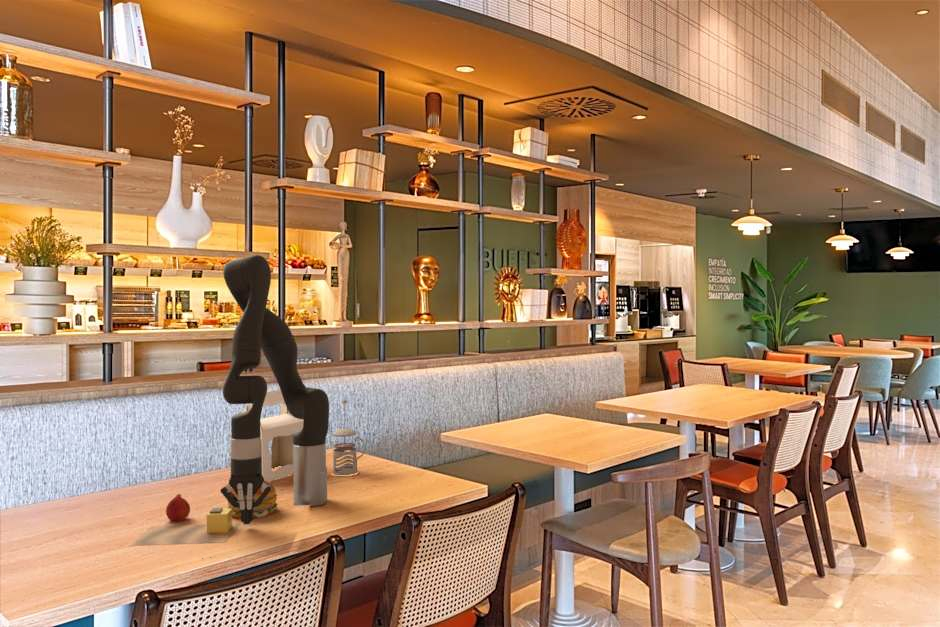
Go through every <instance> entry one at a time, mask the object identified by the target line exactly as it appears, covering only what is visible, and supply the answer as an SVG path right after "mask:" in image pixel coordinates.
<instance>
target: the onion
mask: <svg viewBox="0 0 940 627" xmlns="http://www.w3.org/2000/svg"><path fill="white" fill-rule="evenodd" d="M190 513H191V506H190V504H189V502H188V501H187V500H186V499H185V498H184V497H182V494H181V493H177V494H176V495H175V496H174V497H173V498H172V499H171V500H170V501H169V502H168V504H167V505H166V509H165V514H166V516H167V519H168V520H169V521H171V522H174V523H175V522H177V523H178V522H182V521H184V520H186V519H187V518H188V517H189V514H190Z"/></svg>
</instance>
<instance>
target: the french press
mask: <svg viewBox="0 0 940 627" xmlns="http://www.w3.org/2000/svg"><path fill="white" fill-rule="evenodd" d="M341 404H343V407H344V408H343V412H344V413H343V415H344V416H343V418H344V419H343V421H344V424H343V426H344V427H343V428H339V429H337V430H335V431H334V432H332V435H333V436H334V437H338V438H339V437H344V442H340V443H339V442H338V443H336V444H334V445H333V446H334V449H333V453H332V454H333V456H332V457H333V459H332V460H333V467H332V468H333V470H332V472H331V473H333V474H335V475H350V474H355V473H357V472H358V471H359V470H358V460H359V459H360V458H362V457H363V456H364V454H365V451H366V443H365V442H364V439H362V438H361V437H360V436H356V435H357V434H358V432H357V431H355V429H351V428H347V427H346V404H348V400H347V399H342V400H341ZM353 436H355V441H356V442H357V440H358V439H359V440H360V441H361V442H362V444H363V452H362V454H360V455H359V456H358V457H357V448H356V443H353V442H346V437H353ZM339 458H340V459H339ZM339 462H340V463H339ZM338 466H339V467H338Z"/></svg>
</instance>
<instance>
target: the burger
mask: <svg viewBox="0 0 940 627" xmlns="http://www.w3.org/2000/svg"><path fill="white" fill-rule="evenodd" d="M264 482H265V483H267V484H268V485H272V489H271V490H270V492H269V493H268V494H267V496H266V497H265V498H264V499H263V501H262V502H261V503H260V505H259V506H258V507H254V508H253V519H258V518H264V517H268V516H271V515H273V514H274V513H275V511H276V510H277V507H278V505H279V504H278V502H277V499H278V494H277V490H276V487H275V486H274V485H273V484H272V482H270V483H269V482H267V481H264ZM231 489H232V491H231V492H232V493H233V494H234V496H235V497H236V498H237V499H238V500H239V497H238V494H236V492H235V491H234V490H233V488H232V487H231ZM261 489H262V486H261V487H260V488H259V490H258V491H257V492H256V493H255V497H254V501H256V500H257V499H258V498H259V497H260V495H261V494H262V493H263V492H262V491H261ZM246 500H247V497H246ZM227 503H228V505H227V506H228V507H227V508H226V509H228V508H232V519H239V520H241V510H240V509H239V508H237V507H236V508H234V507H233V506H232V505H231V504H230V502H229V501H228V500H227Z"/></svg>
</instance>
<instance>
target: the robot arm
mask: <svg viewBox="0 0 940 627" xmlns="http://www.w3.org/2000/svg"><path fill="white" fill-rule="evenodd" d="M222 272H223V279H224V281H225V284H226V287H227V289H228V290H229V292H230V294H231V295H232V297H233V299H234V301H235V302H236V303H237V305H238V307H239V308H240V310H241V312H242V315H241V317H240V318H239V321H238V322H237V325H236V326H235V329H234V332H233V337H232V349H231V350H232V351H231V362H230V367H229V370H228V372H227V376H226V379H225V381H224V384H223V389H222V395H223V399H224V400H225V402H226V403H228V404H229V405H245V404H246V405H248V404H253V405H252V408H251V409H250V410H249V411H247V412H243V411H242V412H243V413H242V412H239V413H236V414H234V415H232V417H231V421H230V427H231V430H230V431H231V432H230V433H231V434H230V436H231V437H230V438H231V439H230V449H229V450H230V451H229V456H230V478H229V480H228V483H227V484H226V485H223V486H222V487H221V489H220V493H221V494H222V495H223V496H224V498H225V499H226V500H227V502H228V501H229V502H230V504H231V505H232V506H233V507H234V508H236V507H237V508H239V509H240V510H241V519H240V521H241V523H242V524H243V525H250V524H251V522H253V520H254V518H253V508H254V507H258V506H259V505H260V503H261V502H262V501H263V499H264V498H265V497H266V496H267V494H268V493H269V492H270V490H271V489H272V485H273V484H272V485H268V484H267V483H265V482H264V478H263V476H262V445H261V438H260V419H262V418H261V416H262V410H263V408H264V407H263V403H264V400H265V397H266V393H267V392H268V384H267V381H266V379H265V378H264V377H263V376H261V375H242V373H243V372H244V371H246V370H251V369H255V368H257V367H259V365H260V364H261V356H262V353H263V355H264V357H265V359H266V360H267V363H268V365H269V367H270V369H271V371H272V373H273V376H274V377H275V380H276V382H277V385H278V387H279V389H280V390H281V393H282V396H283V399H284V402H285V404H286V407H287V409H288V411H289V413H290V414H291V415H292V416H293V417H295V418H298V419H304V421H303V429H302V430H301V431H300V432H297V433H295V434H294V436H293V475H292V476H293V504H294V505H295V506H310V507H316V506H321V505H324V504H325V503H327V500H328V468H327V458H326V457H327V453H326V452H327V450H326V449H327V445H326V444H327V442H326V441H327V440H326V439H327V436H328V432H329V422H330V400H329V397H328V395H327V393H326V392H325V391H324V390H323V389H320V388H313V387H307V386H306V385H305V383H304V382H303V379H302V378H301V376H300V374H299V371H298V367H297V365H298V356H299V355H298V345H297V342H296V339H295V337H294V336H293V334H292V331H291V328H290V327H289V325H288V324H287V323H286V322H285V321H284V319H282V318H281V317H280V316H278V315H277V314H275V313H274V312H273V311H271V310H270V309H269V308H268V307H267V303H268V298H269V293H270V288H271V283H272V271H271V267H270V264H269V261H268V260H267V259H266V258H265V257H264V256H262V255H259V254H258V255H257V254H255V255H251V256H246V257H245V256H244V257H241V258H237V259H233V260H230V261H227V262H226V263H225V264H224V266H223V271H222ZM261 486H262V489H261V491H262V492H263V493H262V494H261V495H260V497H259V498H258V499H257V500H256V501H254V497H255V493H256V492H257V491H258V490H259V488H260V487H261ZM231 488H233V490H234V491H235V492H236V494H238V497H239V500H238V499H237V498H236V497H235V496H234V494H233V493H232V492H231V491H232V489H231ZM246 497H247V500H246ZM325 505H326V504H325Z"/></svg>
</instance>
